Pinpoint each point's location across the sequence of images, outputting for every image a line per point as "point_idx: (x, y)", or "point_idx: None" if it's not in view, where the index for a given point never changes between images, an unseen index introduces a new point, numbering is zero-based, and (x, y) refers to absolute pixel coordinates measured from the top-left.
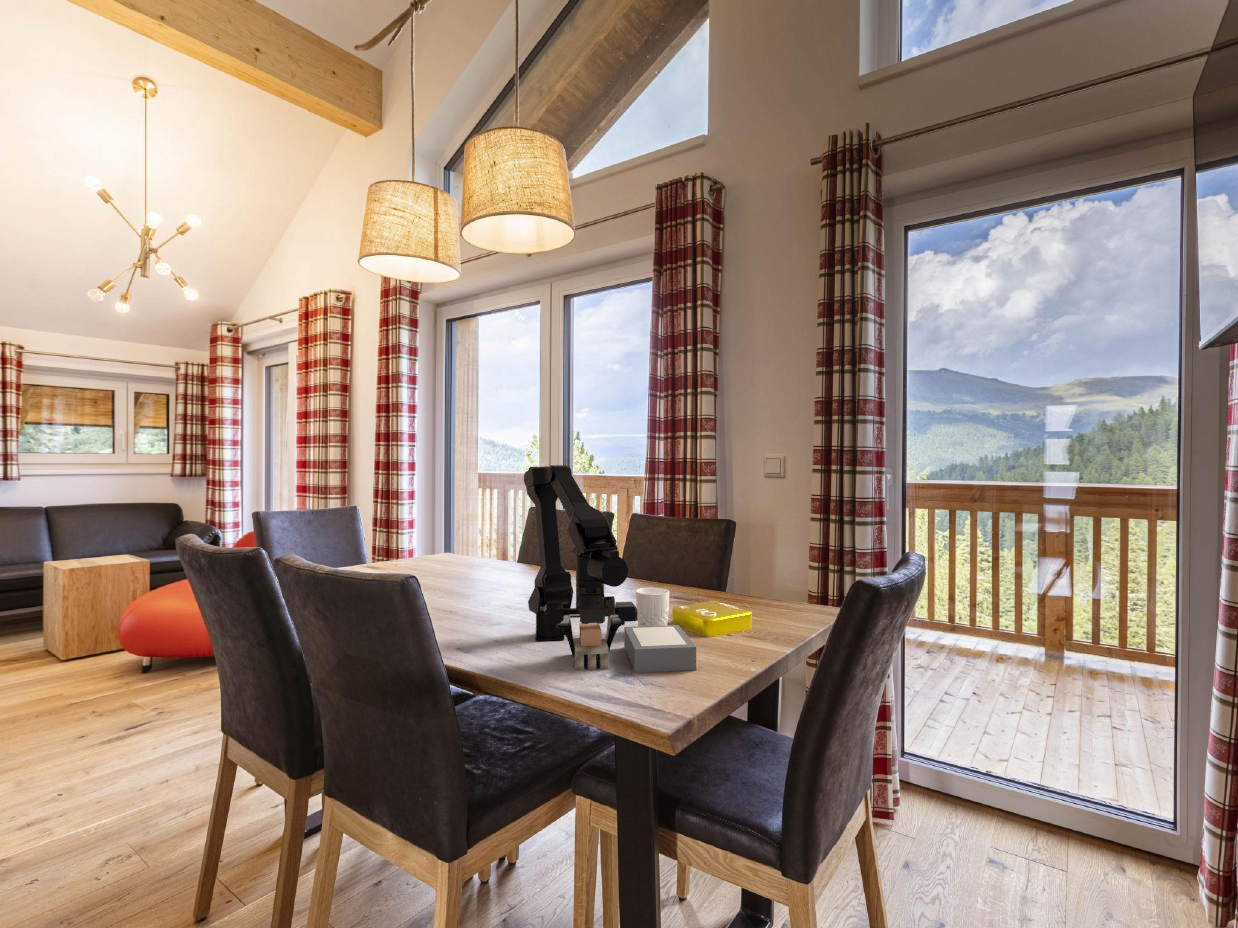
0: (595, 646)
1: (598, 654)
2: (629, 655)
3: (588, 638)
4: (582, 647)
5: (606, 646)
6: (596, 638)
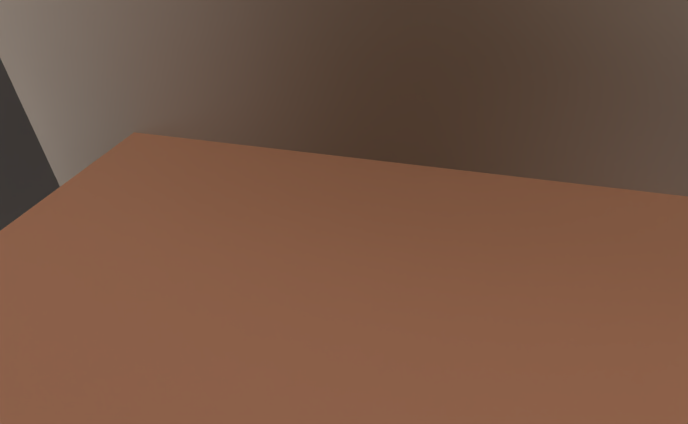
0: (252, 88)
1: None
2: (38, 156)
3: (356, 331)
4: (685, 47)
5: (11, 31)
6: (111, 266)
